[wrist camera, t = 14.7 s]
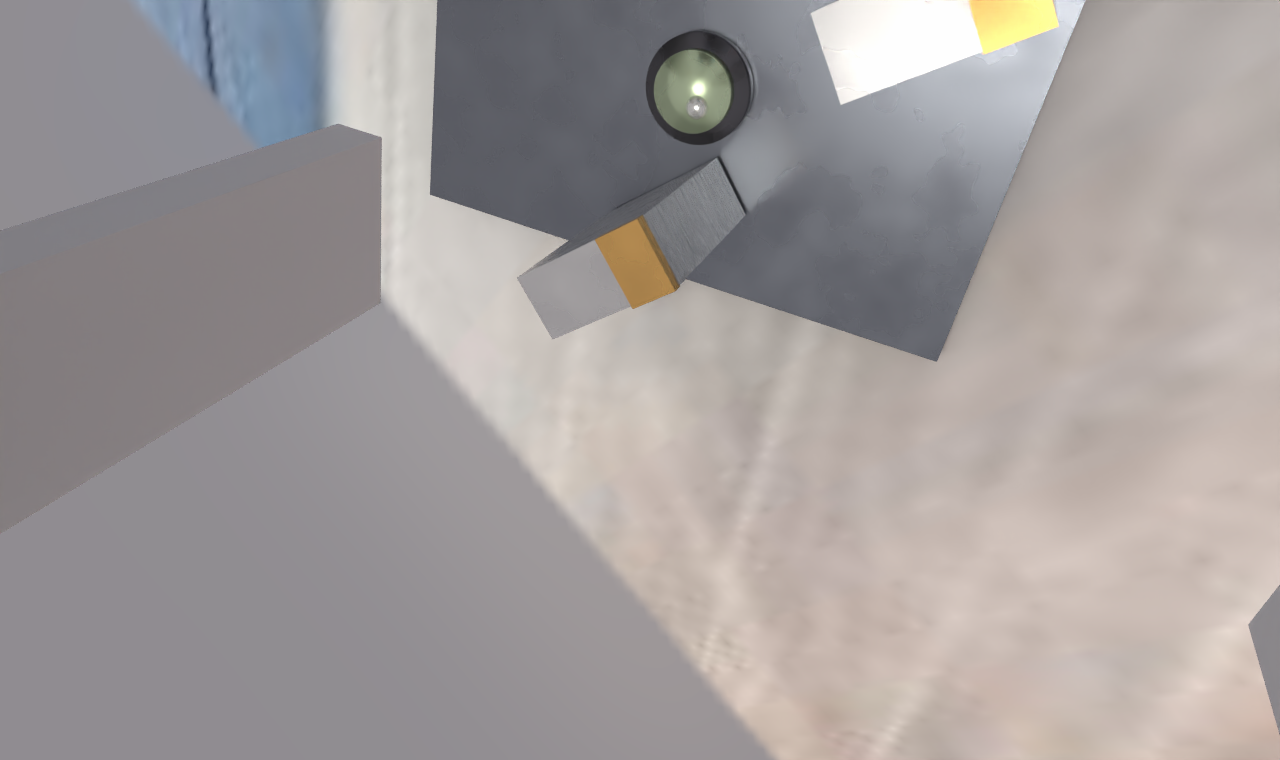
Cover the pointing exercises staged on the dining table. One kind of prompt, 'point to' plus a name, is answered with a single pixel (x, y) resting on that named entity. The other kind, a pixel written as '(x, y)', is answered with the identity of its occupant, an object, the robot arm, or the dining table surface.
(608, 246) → the banded metal block
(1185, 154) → the dining table surface
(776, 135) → the board
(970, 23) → the white yellow slab
